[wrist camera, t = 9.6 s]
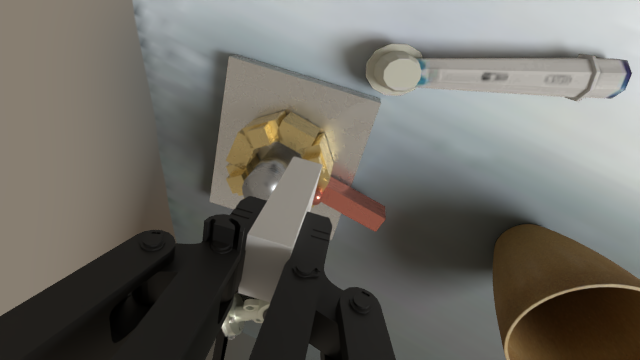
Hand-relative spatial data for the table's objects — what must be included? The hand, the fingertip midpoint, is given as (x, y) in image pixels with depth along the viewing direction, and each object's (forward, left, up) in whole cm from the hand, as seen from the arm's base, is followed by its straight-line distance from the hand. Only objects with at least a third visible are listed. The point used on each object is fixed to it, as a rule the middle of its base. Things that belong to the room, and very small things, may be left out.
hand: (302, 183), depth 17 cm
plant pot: (+13, +29, -26) cm, 41 cm away
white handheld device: (-6, +14, -26) cm, 30 cm away
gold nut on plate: (+10, -5, -26) cm, 28 cm away
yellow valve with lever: (+11, -1, -23) cm, 25 cm away
